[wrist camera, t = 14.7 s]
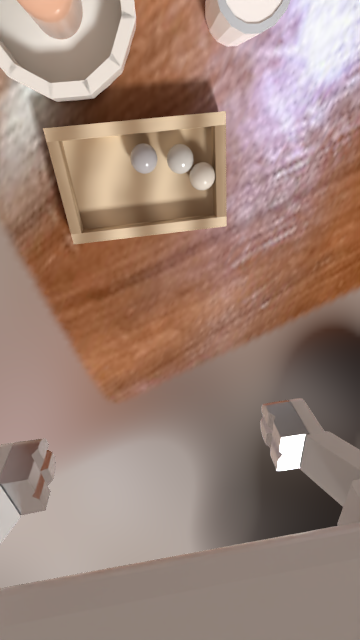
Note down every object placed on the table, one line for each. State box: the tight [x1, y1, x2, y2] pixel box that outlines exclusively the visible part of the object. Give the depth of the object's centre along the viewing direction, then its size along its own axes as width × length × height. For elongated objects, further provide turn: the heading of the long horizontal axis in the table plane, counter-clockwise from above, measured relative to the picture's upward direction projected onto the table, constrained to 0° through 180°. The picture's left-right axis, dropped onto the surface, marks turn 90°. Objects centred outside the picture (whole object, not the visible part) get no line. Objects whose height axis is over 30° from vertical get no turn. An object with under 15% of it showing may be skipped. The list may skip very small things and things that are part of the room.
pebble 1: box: [130, 143, 158, 174], centre depth 34 cm, size 3×3×3 cm
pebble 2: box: [167, 144, 193, 174], centre depth 34 cm, size 3×3×3 cm
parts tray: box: [43, 111, 226, 244], centre depth 36 cm, size 19×12×3 cm, turn 94°
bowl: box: [0, 0, 136, 102], centre depth 27 cm, size 14×14×3 cm
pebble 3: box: [189, 162, 215, 190], centre depth 36 cm, size 3×3×3 cm
